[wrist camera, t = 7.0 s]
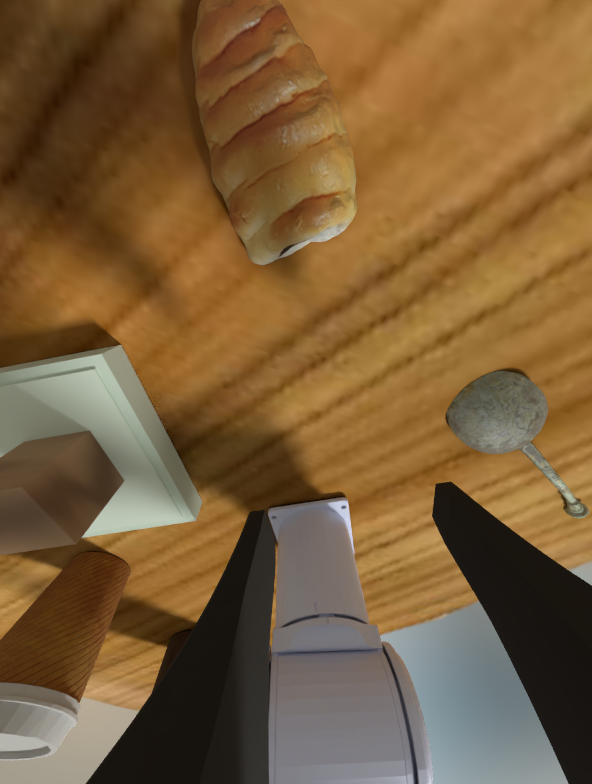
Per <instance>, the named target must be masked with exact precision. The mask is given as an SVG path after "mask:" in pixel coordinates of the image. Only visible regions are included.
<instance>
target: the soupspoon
mask: <svg viewBox="0 0 592 784" xmlns="http://www.w3.org/2000/svg"><path fill="white" fill-rule="evenodd" d="M547 412H548V406H547V401H546V398H545V396H544V394H543V392H542V391H541V390H540V389H539V388H538V387H537V386H536V385H535V384H534V383H533V382H532V381H530V380H529V379H528V378H526V376H523V375H521V374H518V373H514V372H508V371H502V370H501V371H495V372H492V373H489V374H487V375H485V376H483V377H481V378H479V379H477V380H475V381H474V382H472V383H471V384H469V385H468V386H467V387H466V388H464V389H463V390H462V391H461V392H460V393H459V394H458V395H457V397H456V398H455V399H454V400H453V402H452V403H451V405H450V406H449V408H448V410H447V413H446V418H447V420H448V423H449V425H450V427H451V429H452V431H453V432H454V433H455V434H456V436H457V437H458V438H459V439H460V440H461V441H462V442H464V443H465V444H466V445H468V446H470V447H471V448H473V449H475V450H478V451H481V452H484V453H489V454H502V453H507V452H511V451H514V450H516V449H520V450H521V451H522V452H523V453H524V454H525V455H526V456H527V457H528V458H529V459H530V460H531V461H532V462H533V463H534V464H535V465H536V466H537V467H538V468H539V469H540V470H541V471H542V472H543V474H544V475H545V476H546V477H547V478H548V479H549V480H550V481H551V482H552V483H553V484H554V485H555V486H556V487H557V489H558V490H559V491H560V492H561V494H562V495H563V496H564V497H565V498H566V499H565V501H566V503H567V507H566V508H565V509H564V510H565V512H566V513H567V514H569V515H570V516H572V517H575V518H583V517H585V516H587V515H588V513H589V510H588V508H587V506H586V505H584V504H582V503H581V502H579V501H578V499H577V498H575V497H574V496H573V494H572V493H571V491H570V490H569V488H568V487H567V486H566V484H565V483H564V482H563V481H562V479H561V478H560V477H559V476H558V474H557V473H556V472H555V471H554V470H553V469H552V467H551V466H550V465H549V463H548V462H547V461H546V459H545V458H544V457H543V456H542V454H541V453H540V452H539V451H538V450H537V449H536V447H535V446H534V445H533V444H532V443H531V440H532V439H533V438H534V437H535V436H536V435H537V434H538V433H539V432H540V430H541V429H542V427H543V425H544V423H545V420H546V417H547Z"/></svg>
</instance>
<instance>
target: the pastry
mask: <svg viewBox="0 0 592 784" xmlns="http://www.w3.org/2000/svg"><path fill="white" fill-rule="evenodd" d="M192 59H193V65H194V70H195V96H196V101H197V104H198V107H199V115H200V121H201V125H202V128H203V131H204V136H205V140H206V143H207V145H208V148H209V152H210V161H211V175H212V180H213V182H214V184H215V186H216V188H217V189H218V190H219V192H220V193H221V194H222V195H223V198H224V201H225V203H226V205H227V208H228V210H229V218H230V221H231V224H232V226H233V228H234V229H235V231H236V232H237V234H238V235H239V236H240V237H241V239H242V241H243V243H244V245H245V246H246V249H247V254H248V257H249V259H250V260H251V261H252V262H253V263H256V264H260V265H266V264H268V263H271V262H273V261H275V260H277V259H279V258H283V257H286V256H288V255H291V254H292V253H294V252H295V251H297V250H299V249H301V248H302V247H304V246H305V245H307V244H308V243H309V242H323V241H327V240H329V239H331V238H332V237H334V236H337V235H339V234H340V233H341V232H343V231H344V230H345V229H346V228H347V227H348V225H349V224H350V223H351V221H352V220H353V218H354V216H355V214H356V212H357V202H356V198H355V185H356V169H355V163H354V158H353V150H352V146H351V143H350V140H349V138H348V135H347V132H346V129H345V127H344V124H343V118H342V113H341V109H340V105H339V102H338V101H337V99H336V98H335V96H334V94H333V92H332V89H331V86H330V83H329V80H328V77H327V76H326V74H325V73H324V71H323V70H322V69H321V68H320V67H319V65H318V64H317V60H316V58H315V56H314V54H313V51H312V49H311V48H310V47H308V46H307V45H306V44H304V42H303V40H302V39H301V38H300V36H299V35H298V33H297V32H296V30H295V28H294V26H293V24H292V22H291V21H290V19H289V17H288V15H287V13H286V10H285V8H284V7H283V5H282V4H281V3H280V2H279V1H278V0H201V1H200V4H199V8H198V14H197V24H196V29H195V32H194V35H193V39H192Z"/></svg>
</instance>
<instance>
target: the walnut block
mask: <svg viewBox="0 0 592 784" xmlns="http://www.w3.org/2000/svg"><path fill="white" fill-rule="evenodd" d="M123 482H124V479H123V478H122V476H121V475H120V473H119V472H118V470H117V469H116V468H115V466H114V465H113V463H112V462H111V460H110V459H109V457H108V456H107V455H106V453H105V452H104V450H103V449H102V447H101V446H100V444H99V443H98V442H97V440H96V439H95V437H94V436H93V434H92V433H91V431H90V430H89V431H83V432H77V433H71V434H66V435H60V436H54V437H48V438H43V439H37V440H31V441H25V442H23V443H21V444H20V445H18V446H17V447H15V448H14V449H12V450H11V451H9V452H8V453H6V454H5V455H3V456H2V457H0V554H1V555H6V554H13V553H19V552H26V551H33V550H40V549H46V548H53V547H60V546H67V545H73V544H77V543H78V542H79V540H80V539H81V538H82V536H83V535H84V534H85V532H86V531H87V530H88V529H89V527H90V526H91V525H92V523H93V522H94V521H95V519H96V518H97V517H98V515H99V514H100V513H101V511H102V510H103V509H104V507H105V506H106V505H107V504H108V502H109V501H110V500H111V498H112V497H113V496H114V494H115V493H116V492H117V490H118V489H119V488H120V486H121V485H122V484H123Z"/></svg>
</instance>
